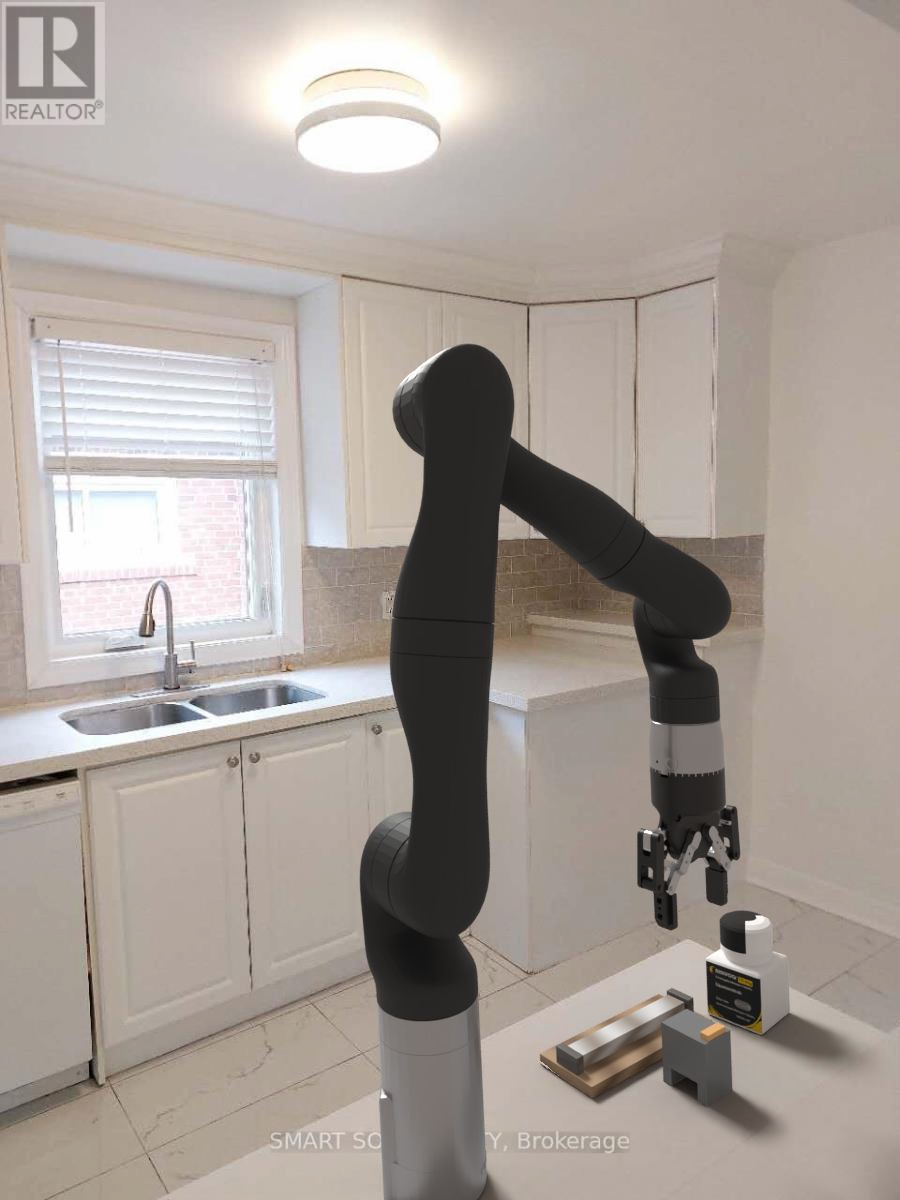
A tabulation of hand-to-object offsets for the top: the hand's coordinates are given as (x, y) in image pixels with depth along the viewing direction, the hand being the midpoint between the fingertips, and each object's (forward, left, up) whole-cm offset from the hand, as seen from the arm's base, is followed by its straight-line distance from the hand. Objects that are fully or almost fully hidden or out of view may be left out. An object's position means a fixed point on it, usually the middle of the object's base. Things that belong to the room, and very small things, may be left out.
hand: (692, 915), depth 89 cm
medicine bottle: (+10, +13, -19) cm, 25 cm away
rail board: (-6, +8, -18) cm, 21 cm away
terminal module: (0, 0, -18) cm, 18 cm away
